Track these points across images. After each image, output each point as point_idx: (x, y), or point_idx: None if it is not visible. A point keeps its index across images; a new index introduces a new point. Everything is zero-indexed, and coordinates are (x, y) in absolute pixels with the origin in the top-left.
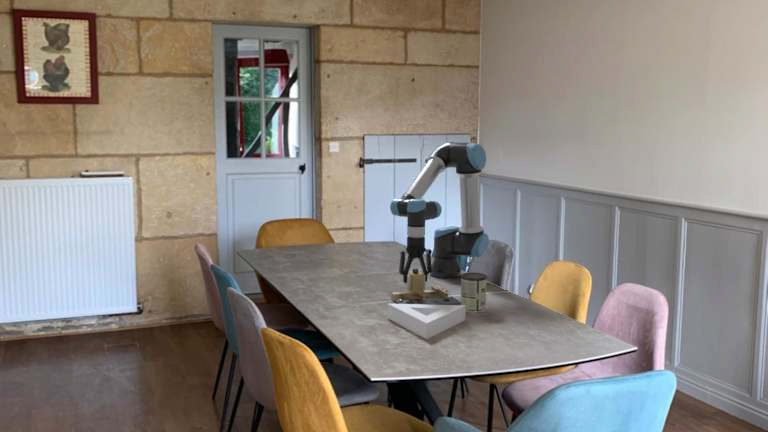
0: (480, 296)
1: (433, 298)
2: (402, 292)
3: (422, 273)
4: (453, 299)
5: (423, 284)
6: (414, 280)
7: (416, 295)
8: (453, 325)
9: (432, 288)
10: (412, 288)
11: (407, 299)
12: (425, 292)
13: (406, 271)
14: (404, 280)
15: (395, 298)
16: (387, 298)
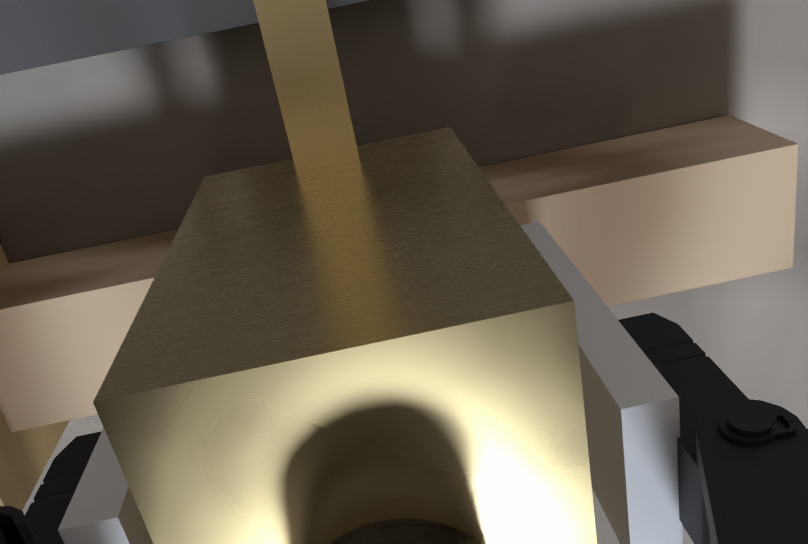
0: None
1: (11, 25)
2: (600, 272)
3: (146, 512)
4: None
5: (176, 241)
6: (452, 231)
7: None
8: None
9: (4, 454)
10: (466, 156)
11: (497, 168)
12: None
13: (803, 505)
14: (693, 344)
15: (720, 132)
16: (760, 292)
